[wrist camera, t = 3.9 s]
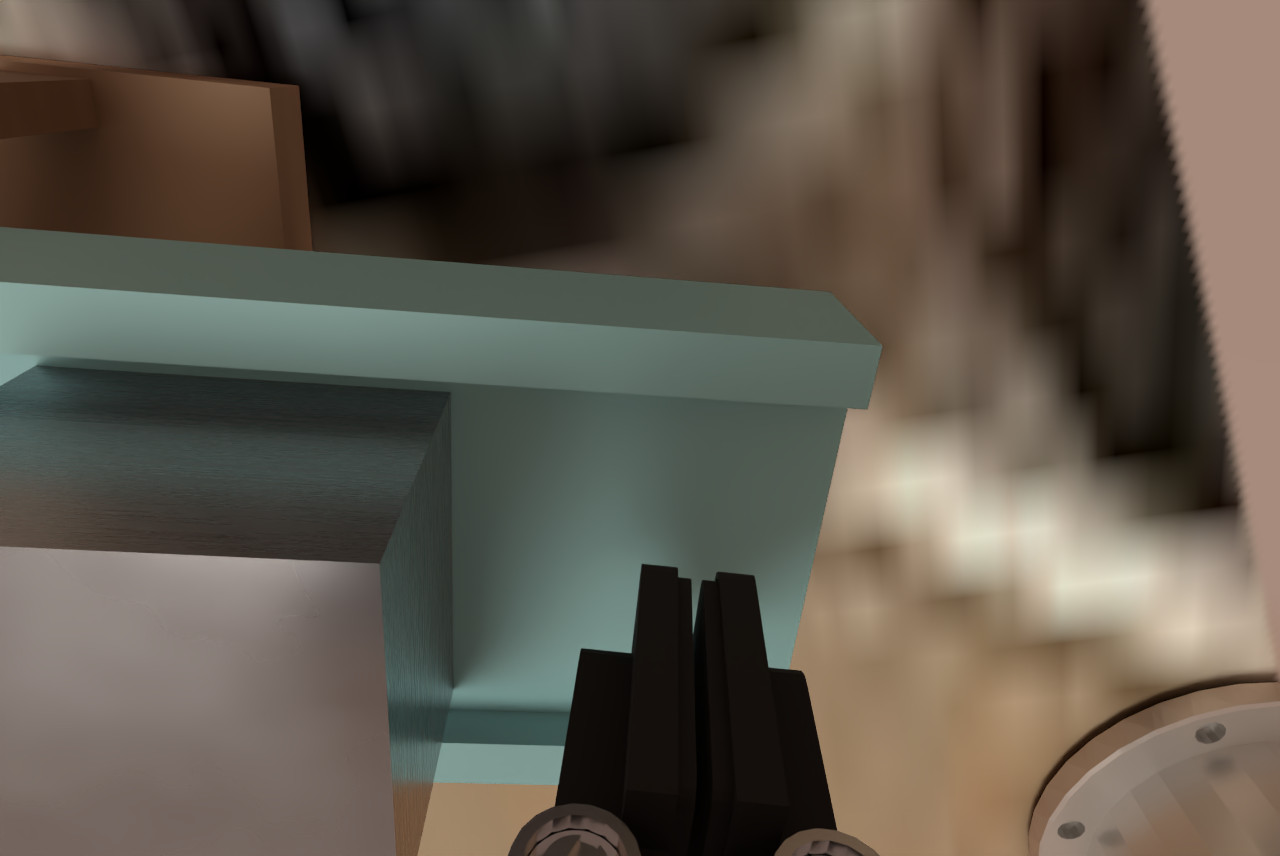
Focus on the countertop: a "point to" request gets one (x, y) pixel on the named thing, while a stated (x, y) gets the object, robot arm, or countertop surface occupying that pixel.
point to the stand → (151, 155)
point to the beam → (509, 429)
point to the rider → (221, 614)
